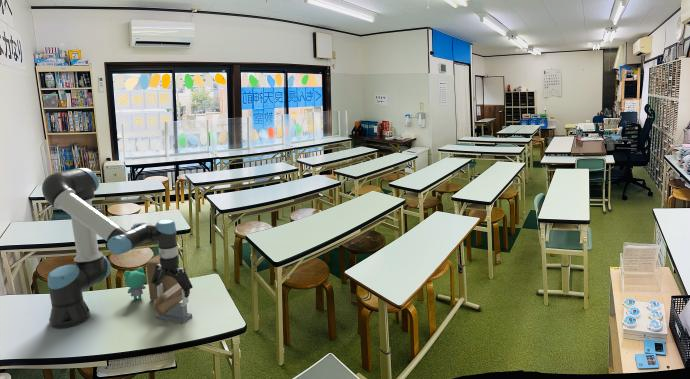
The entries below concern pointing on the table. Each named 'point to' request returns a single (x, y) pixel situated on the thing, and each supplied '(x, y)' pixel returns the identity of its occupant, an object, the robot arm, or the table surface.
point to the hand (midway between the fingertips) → (173, 300)
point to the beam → (168, 300)
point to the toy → (135, 282)
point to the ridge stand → (177, 314)
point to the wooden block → (166, 282)
